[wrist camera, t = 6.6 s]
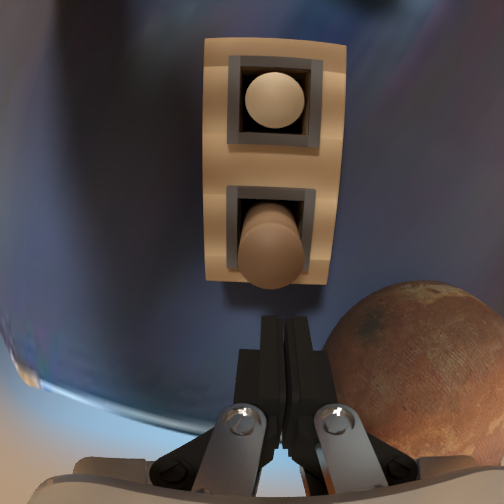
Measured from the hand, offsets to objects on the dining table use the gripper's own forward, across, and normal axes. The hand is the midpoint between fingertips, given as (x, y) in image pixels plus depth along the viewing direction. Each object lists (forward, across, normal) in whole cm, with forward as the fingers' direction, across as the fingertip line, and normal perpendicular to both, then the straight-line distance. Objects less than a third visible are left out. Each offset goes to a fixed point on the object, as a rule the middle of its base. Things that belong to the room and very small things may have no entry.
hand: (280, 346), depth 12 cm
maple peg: (+19, 0, -10) cm, 22 cm away
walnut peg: (+14, 0, 0) cm, 14 cm away
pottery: (+20, -16, +15) cm, 30 cm away
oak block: (+19, 0, -5) cm, 20 cm away
